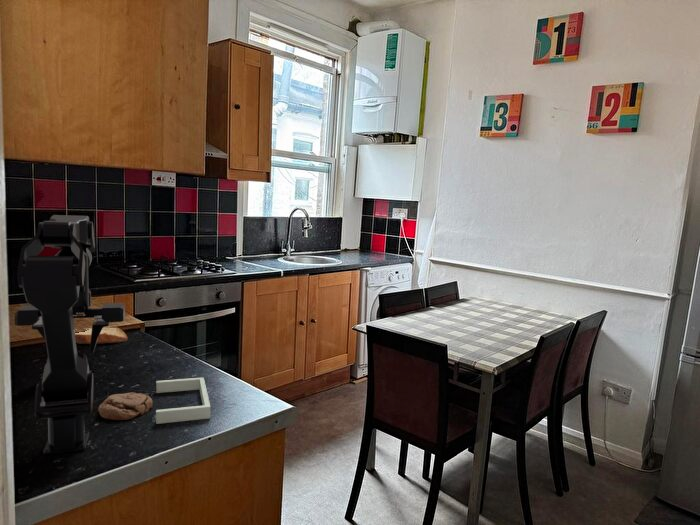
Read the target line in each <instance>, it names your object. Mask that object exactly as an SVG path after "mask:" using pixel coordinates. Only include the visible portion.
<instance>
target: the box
mask: <svg viewBox="0 0 700 525" xmlns="http://www.w3.org/2000/svg"><path fill="white" fill-rule="evenodd" d="M204 378H205V377H192V378H191V377H190V378H177V379H169V380H168V379H166V380H156V383H155V384H156V387H155V389H156V391H155V392H156V394H162V393H174V392H184V391H185V392H186V391H197V390H199V392H200V394H199V395H200V398H201V403H202V404H201V405H196V406H193V405H192V406H185V407H184V406H183V407H173V408H163V409H156V410H155V424H156V425H158V424H159V425H160V424H167V423H178V422H186V421H187V422H188V421H196V420H205V419H207V420H208V419H211V402H210V398H209V394H208V390H207V386H206V382H205V379H204Z"/></svg>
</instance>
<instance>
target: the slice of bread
mask: <svg viewBox="0 0 700 525" xmlns="http://www.w3.org/2000/svg"><path fill="white" fill-rule="evenodd" d="M85 329H86V330H87V329H89V330H87V331H85V332H79V333H75V338H76V343H77V344H80V345H83V344H84V345H90V342H91V333H92V327H89V328H85ZM128 338H129V337H128V335H127V334H126V333H125V331H123V330H122V329H121V328H119V327H109V326H106V327H103V328H102V330H101V332H100V334H99V336H98V339H97V343H96V345H97V344H101V345H103V344H117V343H118V344H119V343H122V342H127V341H128ZM77 344H76V345H77Z"/></svg>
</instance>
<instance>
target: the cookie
mask: <svg viewBox="0 0 700 525" xmlns="http://www.w3.org/2000/svg"><path fill="white" fill-rule="evenodd" d="M153 404H154V402H153V399H152V398H151V397H150V396H149V395H147V394H145V393H141V392H139V393H136V392H133V391H132V392H126V393H115V394H111V395H109V396H108V397H107V398H106V399H105V400H103V401H102V403H101V404H99V406H98V407H97V412H98V414H99V415H100V417H101V418H103V419H105V420H112V421H126V420H131V419H133V418H135V417H138V416H142V415H144V414H147V413H149V411H150V410H151V409H150V408H153ZM146 412H147V413H146Z"/></svg>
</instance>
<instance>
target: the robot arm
mask: <svg viewBox="0 0 700 525" xmlns="http://www.w3.org/2000/svg"><path fill="white" fill-rule="evenodd" d="M49 218H50V219H49V220H43V221H42V222H41V221H40V222H39V223H38V225H37V230H36V234H35V235H34V236H33V237H32V238H30V239H29V241H27V243H25V244H24V245H23V246H21V248H20V253H19V259H18V265H17V270H16V272H17V273H16V275H17V276H16V278H17V285H18V287H19V288H22V291H23V294H24V298H25V301H26V303H28V305H22V306H21V307H20V308H19V309H18V310H17V311H16V312H15V313H14V317H13V318H14V326H16V327H21V326H22V327H24V326H31V329H32V330H36V331H37V332H38V333H39V335H40V336H41V337H42V338H43V339H44V341H45V347H46V353H47V359H46V363H45V365H44V369H43V373H42V374H43V375H42V376H41V377H40V378H39V381H38V383H37V384H36V386H35V392H34V393H35V395H34V405H33V406H34V413H33V414H34V417H36V420H37V421H39V420H44V419H45V420H46V419H47V427H48V428H47V431H48V432H47V436H48V439H47V441H46V443H45V446H44V448H43V451H42V454H43V455H52V454H60V453H61V454H62V453H69V452H79V451H84V450H85V449H86V447H87V442H88V440H89V437H90V431H89V430H88V431H86V430H85V428H86V427H85V425H86V424H85V420H86V419H85V415H92V412H93V407H94V373H93V372H90V367H89V362H88V356H87V355H86V354H85V353H78V348H77V344H76V338H75V330H76V329H75V322H74V320H75V319H85V318H87V319H90V318H93V319H94V321H93V322H92V324H91V328H92V333H91V342H90V344H89V354H90V356H92V355H93V354H94V352H95V348H96V346H97V344H96V343H97V339H98V336H99V334H100V332H101V330H102V328H104V327H109V326H110V323H122V322H124V321H125V317H126V306H125V304H124V303H123V302H107V303H106V302H105V303H103V305H102V307H91V306H92V291H91V290H90V288H89V268H90V266H91V265H92V264H91V263H92V261H93V255H92V253H91V251H90V249H95V248H96V247H95V246H96V243H95V232H94V231H95V230H94V222H93V221H90V216H88V215H72V214H71V215H69V214H68V215H67V214H65V215H64V214H63V215H62V214H60V215H59V214H53V215H52V216H51V217H49ZM45 247H50V248H52V249H60V250H59V251H58V252H57V253H56V254H55V255H46V256H45V255H44V256H43V255H40V254H41V252H43V250H44V248H45ZM86 399H87V401H79V400H86ZM69 401H77V402H69ZM60 402H67V403H60ZM48 403H58V404H49V405H46V404H48Z"/></svg>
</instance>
